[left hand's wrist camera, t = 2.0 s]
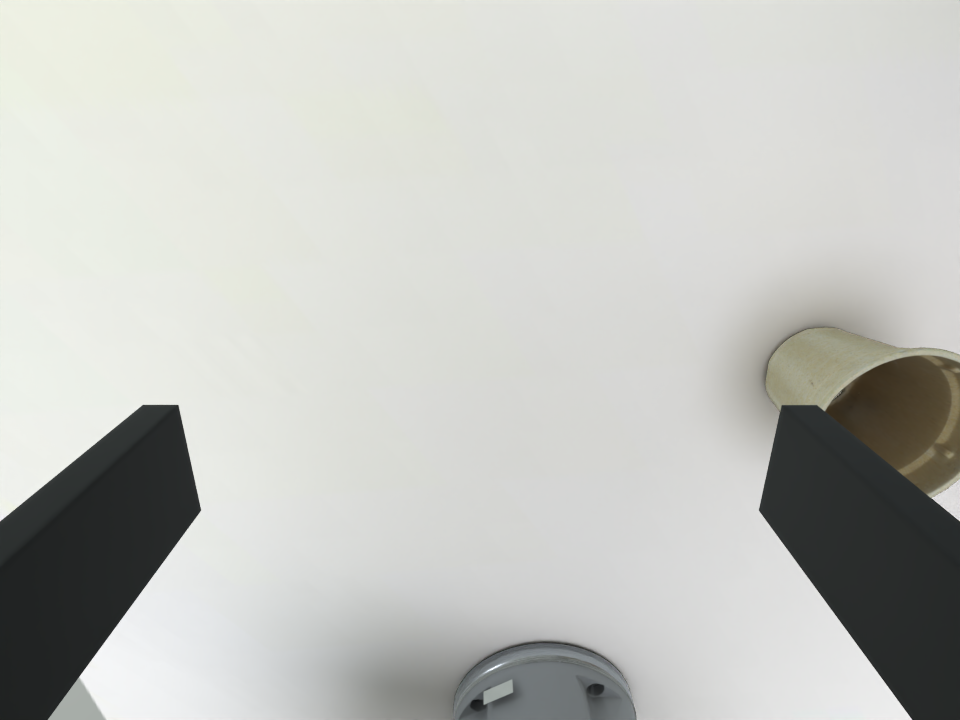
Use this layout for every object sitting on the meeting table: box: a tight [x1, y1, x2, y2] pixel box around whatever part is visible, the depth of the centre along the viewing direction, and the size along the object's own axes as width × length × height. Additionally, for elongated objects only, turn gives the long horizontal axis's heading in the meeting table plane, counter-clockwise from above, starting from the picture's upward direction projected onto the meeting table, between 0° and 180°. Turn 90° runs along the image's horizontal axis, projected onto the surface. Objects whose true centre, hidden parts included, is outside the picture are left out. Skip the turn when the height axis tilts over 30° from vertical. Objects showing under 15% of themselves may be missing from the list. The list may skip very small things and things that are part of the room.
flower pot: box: [765, 327, 960, 498], centre depth 34 cm, size 9×9×9 cm
